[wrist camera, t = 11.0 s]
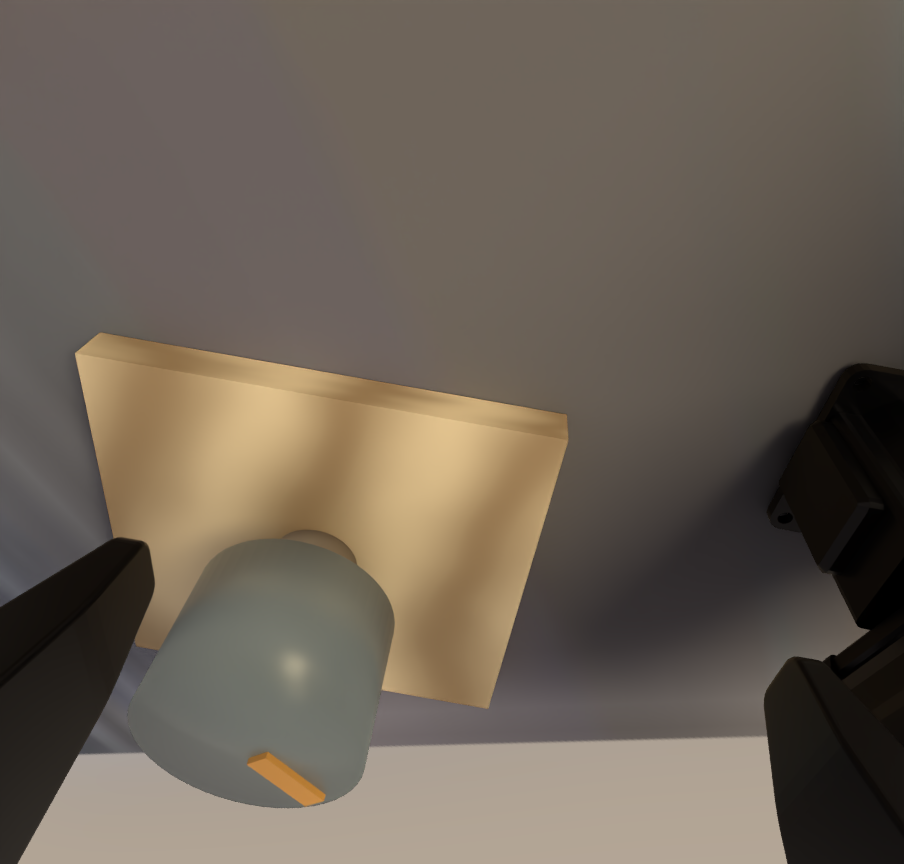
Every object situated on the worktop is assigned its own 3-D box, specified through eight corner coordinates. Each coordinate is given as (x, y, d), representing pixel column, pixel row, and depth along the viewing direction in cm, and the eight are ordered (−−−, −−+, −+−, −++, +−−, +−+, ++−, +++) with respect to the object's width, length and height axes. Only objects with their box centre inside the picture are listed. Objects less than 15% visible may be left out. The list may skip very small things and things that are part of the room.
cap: (158, 584, 24) (74, 719, 19) (303, 508, 21) (242, 646, 17) (291, 692, 26) (244, 831, 22) (434, 639, 24) (412, 785, 19)
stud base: (566, 414, 23) (571, 485, 19) (490, 679, 31) (484, 758, 28) (100, 332, 23) (30, 390, 20) (152, 619, 31) (109, 691, 28)
